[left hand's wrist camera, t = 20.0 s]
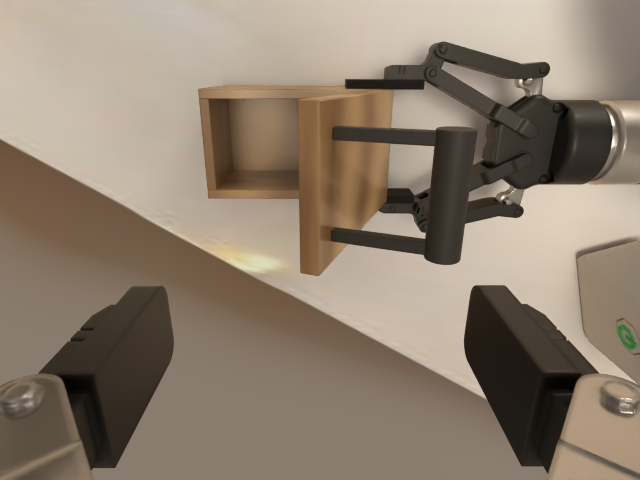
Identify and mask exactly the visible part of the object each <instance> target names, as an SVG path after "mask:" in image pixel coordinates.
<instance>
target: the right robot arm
mask: <svg viewBox="0 0 640 480" xmlns="http://www.w3.org/2000/svg"><path fill="white" fill-rule="evenodd" d="M443 62H448V63H452V64H455V65H459V66H462V67H466V68H469V69H473V70H476V71H480V72H483V73H487V74H490V75H494V76H497V77H501V78H506V79H515V80H514V83H515V86H516V87H517V88H522V89H523V90H524V91H525V93H526V96H524V97H522V98H521V99H519V100H518V101H516V102H515V103H514V104H512V105H511V106H509V107H508V108H506V107H505V106H503V105H501V104H499V103H497V102H495V101H493V100H492V99H490V98H488V97H487V96H485V95H483V94H482V93H480V92H478V91H477V90H475V89H473V88H472V87H470V86H468V85H467V84H465V83H463V82H462V81H460V80H458V79H457V78H455V77H454V76H452V75H450V74H449V73H447V72H445V71H444V70H442V69H441V67H442V65H443ZM549 71H550V66H549V64H548V63H546V62H536V63H524V64H520V63H517V62H513V61H510V60H506V59H503V58H499V57H496V56H493V55H489V54H486V53H482V52H479V51H475V50H472V49H468V48H465V47H461V46H458V45H454V44H451V43H447V42H440V43H436V44H433V45H432V46H431V47H430V48H429V53H428V56H427V58H426V60H425V62H424V63H423V64H421V65H390V66H388V67H386V68H385V70H384V79H345V88H346V89H418V90H424V81H426V82H428V83H429V84H431V85H433V86H434V87H436V88H438V89H439V90H441V91H443V92H444V93H446V94H448V95H449V96H451V97H453V98H454V99H456V100H458V101H459V102H461V103H463V104H464V105H466V106H468V107H470V108H471V109H473V110H475V111H476V112H478V113H479V114H480V115H482V116H484V117H485V118H487V119H489V120H490V123H489V124H487V127H486V139H487V142H486V145H485V147H484V149H483V156H482V158H483V159H484V160H482V161H480V162H478V163H476V164H474V165H473V167H472V174H471V182H470V189H469V192H470V191H472V190H474V189H476V188H479V187H481V186H483V185H487V184H491V183H494V182H496V181H498V180H500V179H503V180H504V181H506V182H507V183H508V184H509V185H510V188H509V189H508V190H507V191H505V192H500V193H498V194H497V195H496V197H489V198H483V199H478V200H474V201H470V202H468V205H467V212H466V220H465V224H466V223H470V222H474V221H479V220H483V219H488V218H492V217H496V216H503V217H513V218H518V217H520V216H521V215H522V214H523V212H524V210H523V208H522V207H521V206H520V203H521V199H522V196H523V192H524V189H527V188H529V187H531V186H534V185H538V184H585V183H588V184H595V185H599V184H640V100H603V101H599V102H597V101H594V100H550V99H548V98H546V97H545V96H543V95H542V85H543V77H545V76H546V75H548V73H549ZM429 197H430V188H429V189H427V190H425V191H423V192H421V193H419V194H417V195H415V196H414V194H413V193H412V192H411V190H410V189H397V188H387V201H386V202H385V203H384V204H383V206H382V207H381V208H380V209H379V211H380V212H382V213H410V214H413V216H414V221H415V223H416V225H417V226H418V228H419V229H420V231H421V232H424V233H426V228H427V218H428V207H429Z"/></svg>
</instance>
